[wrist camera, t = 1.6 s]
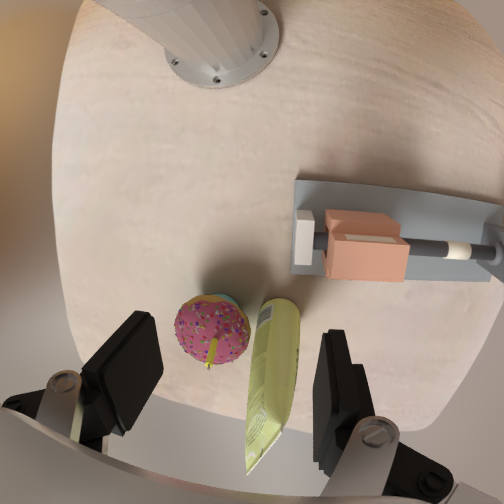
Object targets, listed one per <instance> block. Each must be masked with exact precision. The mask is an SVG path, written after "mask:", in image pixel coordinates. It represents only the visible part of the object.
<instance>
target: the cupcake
mask: <svg viewBox="0 0 504 504" xmlns="http://www.w3.org/2000/svg"><path fill="white" fill-rule="evenodd" d="M174 326H175V332H176V334H175V335H176V336H177V338H178V341H179V342H180V345H182V346H183V349H184V351H185V352H186V353H189V354H190V355H191V356H193V358H195V359H196V360H199V361H200V360H201V361H202V362H206V363H205V365H206V367H208V368H207V369H208V370H210V367H212V365H213V364H215V365H217V364H219V365H221V364H224V363H227V362H230V361H232V362H233V360H235V359H237V358H238V357H239V356H240V355H241V354H242V353H243V352H244V351H245V350H246V348H247V346H248V342H249V339H250V334H251V328H250V325H249V320H248V317H247V316H246V315H245V314H244V313H243V312H242V311H241V310H240V308H239V306H238V304H237V303H236V301H235V300H234V299H232V298H231V297H229V296H227V295H224V294H213V295H199V296H196V297H194V298H192V299H191V300H189V301H188V302H186V303H184V304H183V305H182V307H181V309H180V310H179V312H178V314H177V317H176V319H175V324H174Z"/></svg>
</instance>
